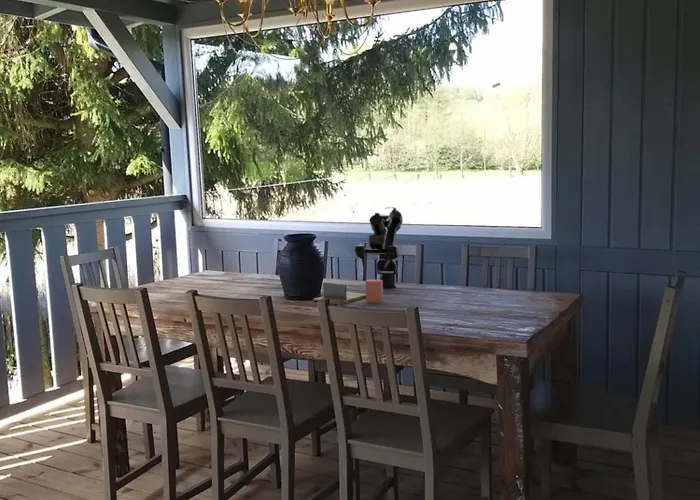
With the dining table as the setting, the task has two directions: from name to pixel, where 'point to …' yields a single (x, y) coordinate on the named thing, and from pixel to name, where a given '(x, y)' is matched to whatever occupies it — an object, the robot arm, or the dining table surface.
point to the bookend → (334, 290)
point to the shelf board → (350, 298)
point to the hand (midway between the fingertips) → (374, 267)
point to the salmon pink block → (374, 291)
